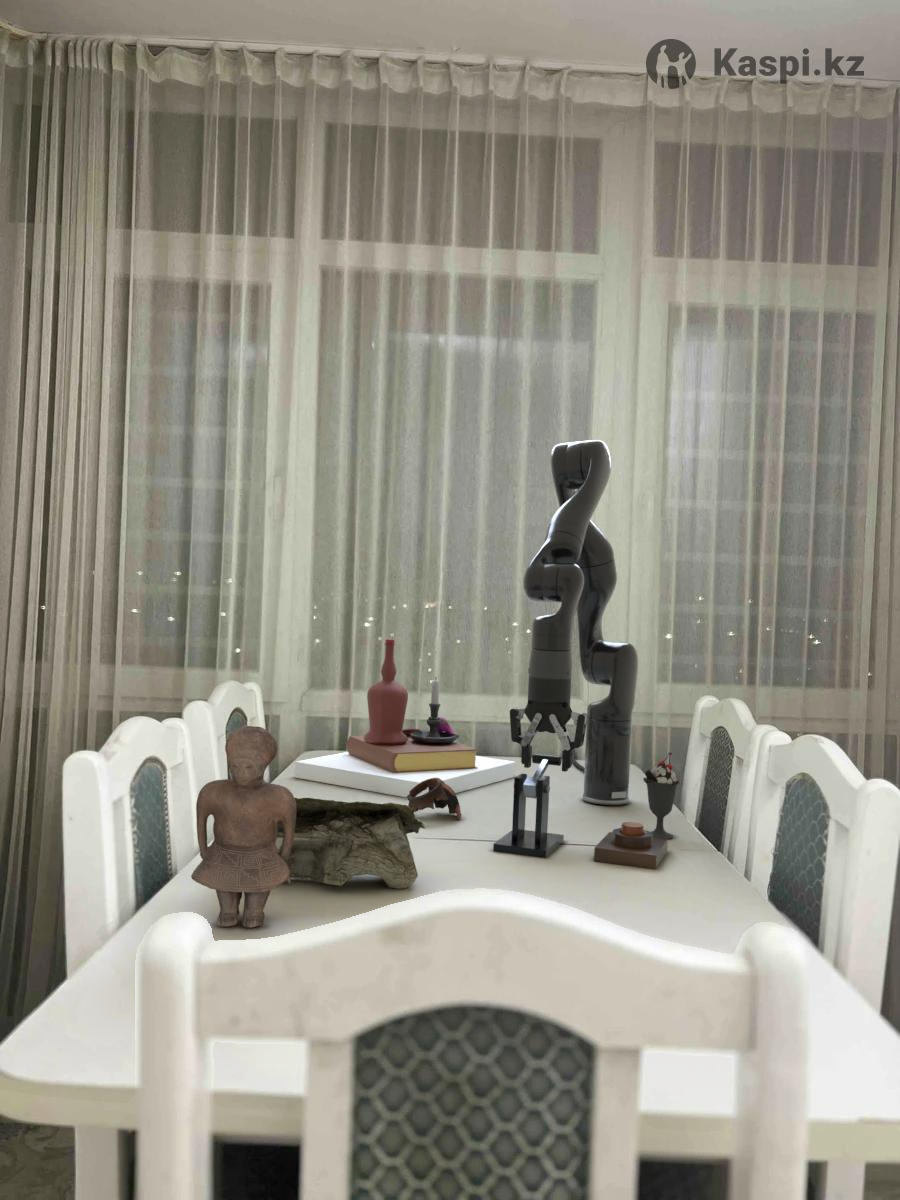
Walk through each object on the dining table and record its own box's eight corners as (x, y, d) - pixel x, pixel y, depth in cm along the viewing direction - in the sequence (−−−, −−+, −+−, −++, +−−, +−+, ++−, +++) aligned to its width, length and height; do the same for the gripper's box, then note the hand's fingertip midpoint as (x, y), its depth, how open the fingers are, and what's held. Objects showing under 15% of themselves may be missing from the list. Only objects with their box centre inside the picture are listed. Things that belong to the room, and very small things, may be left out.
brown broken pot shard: (463, 826, 192) (444, 788, 190) (417, 845, 194) (397, 807, 192) (467, 797, 204) (449, 761, 202) (424, 814, 205) (405, 779, 204)
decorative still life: (522, 774, 245) (528, 642, 244) (427, 801, 211) (433, 648, 210) (399, 755, 263) (405, 633, 263) (294, 777, 230) (300, 636, 229)
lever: (534, 762, 189) (534, 750, 188) (561, 764, 187) (561, 752, 186) (515, 796, 178) (514, 783, 177) (544, 799, 176) (543, 786, 175)
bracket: (513, 835, 185) (516, 768, 185) (563, 841, 182) (566, 774, 182) (493, 850, 174) (496, 779, 174) (545, 857, 171) (548, 785, 171)
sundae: (680, 834, 191) (683, 752, 191) (675, 842, 185) (679, 757, 185) (643, 829, 194) (647, 748, 193) (638, 837, 187) (641, 754, 187)
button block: (608, 844, 181) (609, 821, 181) (667, 852, 178) (668, 828, 178) (593, 861, 170) (594, 836, 170) (655, 869, 167) (657, 844, 167)
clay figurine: (180, 933, 128) (187, 729, 127) (199, 908, 138) (206, 718, 137) (286, 938, 128) (294, 733, 127) (298, 912, 138) (305, 722, 137)
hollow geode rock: (230, 910, 152) (214, 855, 141) (243, 834, 161) (229, 776, 150) (423, 912, 152) (422, 857, 141) (425, 836, 161) (424, 778, 150)
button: (623, 831, 176) (623, 820, 176) (644, 833, 175) (645, 823, 175) (619, 835, 173) (619, 825, 173) (641, 838, 172) (641, 827, 172)
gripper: (594, 676, 187) (590, 769, 187) (517, 670, 192) (513, 762, 192) (585, 679, 180) (581, 776, 180) (505, 673, 185) (501, 768, 185)
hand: (546, 768), depth 186 cm, fingers open, 6 cm apart
